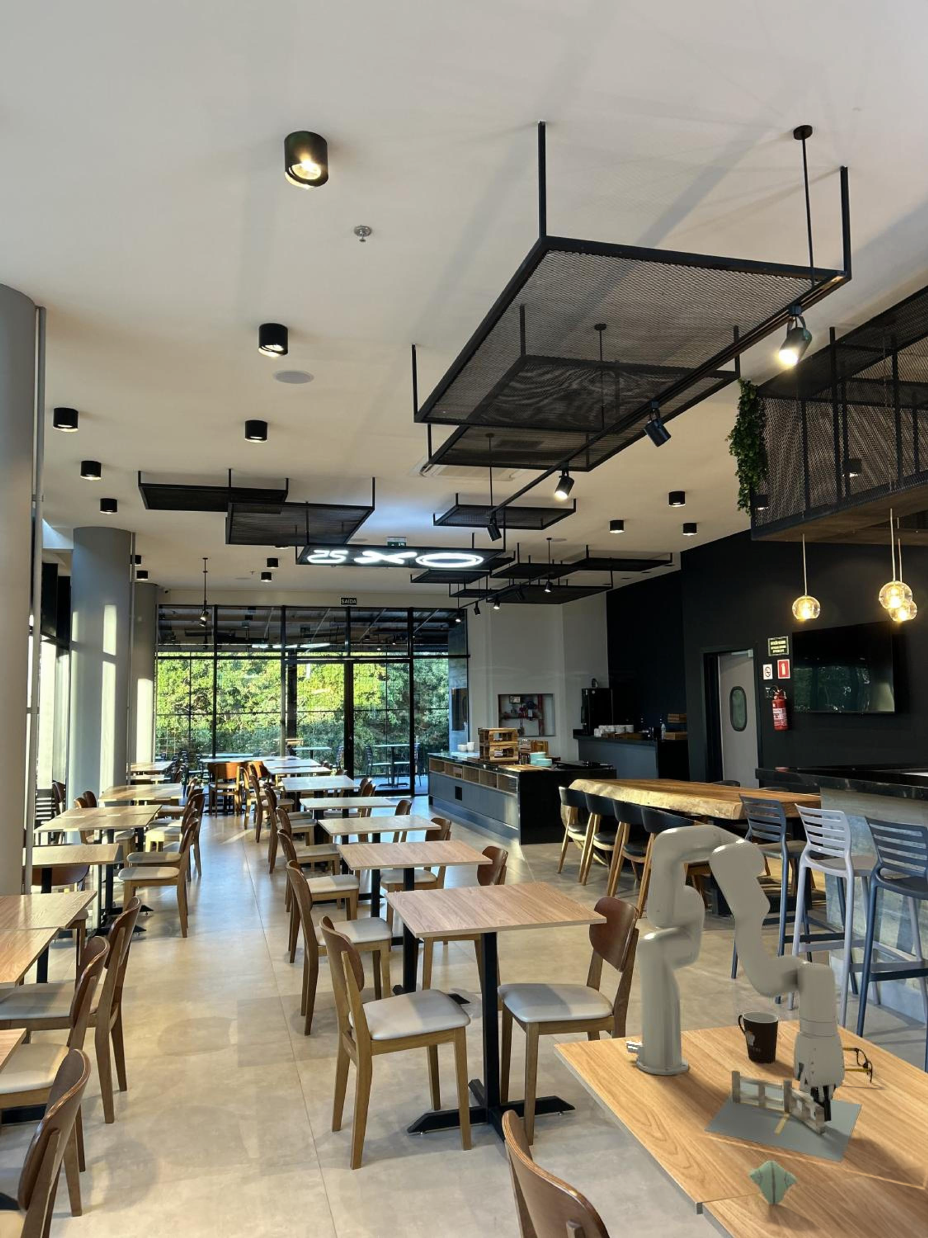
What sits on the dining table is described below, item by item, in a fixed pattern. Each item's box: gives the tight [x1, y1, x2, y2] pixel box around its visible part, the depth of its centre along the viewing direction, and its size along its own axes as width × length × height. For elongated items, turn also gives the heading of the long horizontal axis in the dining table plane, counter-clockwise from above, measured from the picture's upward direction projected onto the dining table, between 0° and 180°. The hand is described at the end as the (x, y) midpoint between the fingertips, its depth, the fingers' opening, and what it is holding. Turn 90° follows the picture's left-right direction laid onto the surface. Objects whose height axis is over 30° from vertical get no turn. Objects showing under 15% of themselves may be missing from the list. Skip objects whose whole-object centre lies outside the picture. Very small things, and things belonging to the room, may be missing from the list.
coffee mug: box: [737, 1011, 779, 1065], centre depth 224 cm, size 12×9×10 cm
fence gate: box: [788, 1086, 825, 1134], centre depth 185 cm, size 11×1×5 cm, turn 12°
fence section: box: [731, 1070, 793, 1113], centre depth 194 cm, size 13×2×6 cm, turn 59°
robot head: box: [748, 1159, 798, 1205], centre depth 155 cm, size 8×4×7 cm, turn 78°
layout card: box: [704, 1082, 863, 1163], centre depth 188 cm, size 26×30×1 cm
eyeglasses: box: [842, 1046, 874, 1083], centre depth 215 cm, size 14×14×4 cm
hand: (822, 1119), depth 185 cm, fingers closed
